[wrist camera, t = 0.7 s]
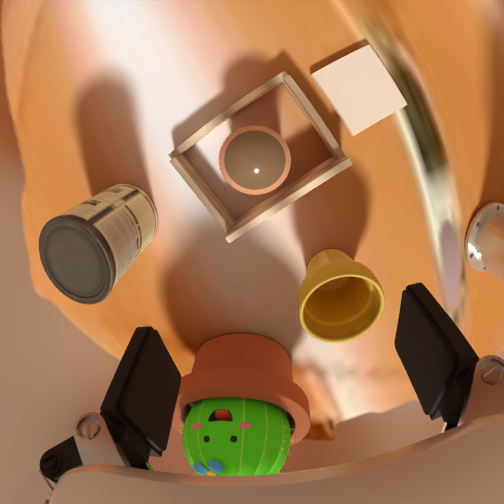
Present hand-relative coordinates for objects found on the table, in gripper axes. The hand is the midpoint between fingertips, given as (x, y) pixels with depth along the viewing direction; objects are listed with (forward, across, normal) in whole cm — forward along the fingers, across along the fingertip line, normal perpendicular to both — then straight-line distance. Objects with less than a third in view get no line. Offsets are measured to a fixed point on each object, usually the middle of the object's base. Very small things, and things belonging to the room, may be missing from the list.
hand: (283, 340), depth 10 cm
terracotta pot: (+27, 0, -4) cm, 28 cm away
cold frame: (+27, 0, -4) cm, 28 cm away
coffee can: (+28, +20, +1) cm, 35 cm away
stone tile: (+27, -14, -10) cm, 32 cm away
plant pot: (+27, -7, +14) cm, 31 cm away
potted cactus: (+27, +9, +32) cm, 43 cm away
